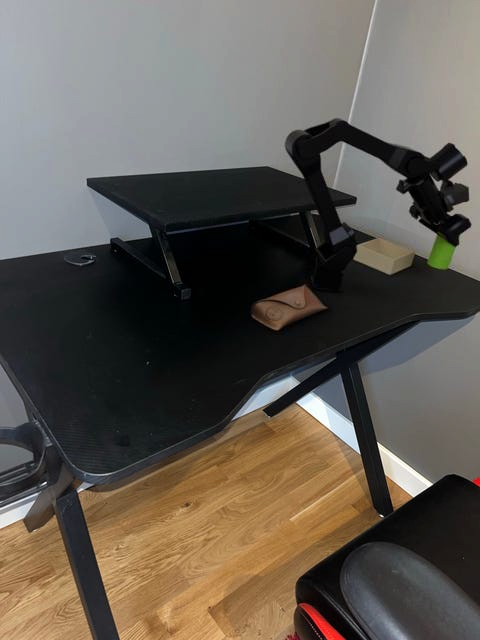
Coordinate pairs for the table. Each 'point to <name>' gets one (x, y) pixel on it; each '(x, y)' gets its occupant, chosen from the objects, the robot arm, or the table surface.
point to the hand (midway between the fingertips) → (451, 241)
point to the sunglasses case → (286, 307)
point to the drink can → (441, 253)
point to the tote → (384, 255)
